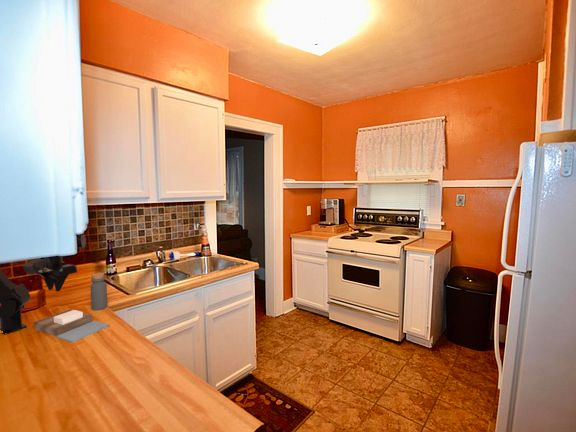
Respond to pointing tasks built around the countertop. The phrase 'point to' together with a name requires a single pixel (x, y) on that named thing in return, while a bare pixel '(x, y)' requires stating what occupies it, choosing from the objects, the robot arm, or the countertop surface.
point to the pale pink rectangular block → (68, 317)
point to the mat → (82, 331)
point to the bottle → (98, 291)
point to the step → (57, 329)
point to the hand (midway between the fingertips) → (54, 290)
